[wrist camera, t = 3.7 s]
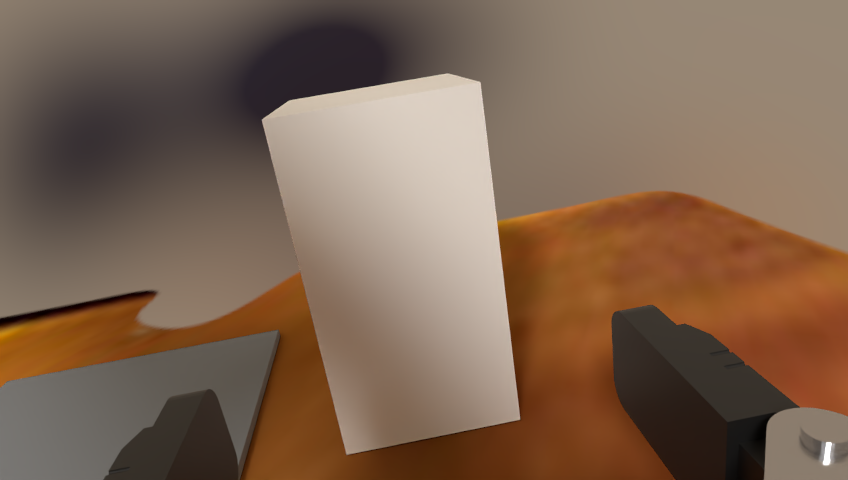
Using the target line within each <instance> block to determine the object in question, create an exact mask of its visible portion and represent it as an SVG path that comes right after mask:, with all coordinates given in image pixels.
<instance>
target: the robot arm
mask: <svg viewBox="0 0 848 480" xmlns="http://www.w3.org/2000/svg"><path fill="white" fill-rule="evenodd" d="M612 343H613V365H614V381H615V387H616V391H617V394H618V397H619V399H620V402H621V404H622V406H623V408H624V409H625V411H626V412H627V413H628V415H629V416H630V418H631V419H632V420H633V422H634V423H635V424H636V426H637V427H638V429H639V430H640V431H641V433H642V434H643V435H644V437H645V438H646V440H647V441H648V442H649V444H650V445H651V446H652V448H653V449H654V451H655V452H656V453H657V455H658V456H659V457H660V459H661V460H662V462H663V463H664V464H665V466H666V467H667V468H668V470H669V471H670V473H671V474H672V475H673V477H674V478H675V479H676V480H848V417H847V416H845V415H842V414H839V413H835V412H832V411H828V410H823V409H816V408H800V407H799V406H797V405H796V404H795V403H794V402H793V401H791V400H790V399H789V398H788V397H786V396H785V395H784V394H783V393H782V392H780V391H779V390H778V389H777V388H775V387H774V386H773V385H772V384H771V383H769V382H768V381H767V380H766V379H764V378H763V377H762V376H761V375H760V374H758V373H757V372H756V371H755V370H753V369H752V368H751V367H750V366H749V365H746V366H745V364H744V361H742V360H741V359H740V358H739V357H738V356H736V355H735V354H734V353H733V352H732V353H730V352H729V349H728V348H727V347H725V346H724V345H723V344H722V343H720V342H719V341H718V340H717V339H716V338H714V337H713V336H712V335H711V334H708V333H706V332H704V331H701V330H699V329H696V328H694V327H692V326H689V325H687V324H681V325H676V324H675V323H674V322H673V321H671V320H670V319H669V318H668V317H667V316H666V315H665V314H664V313H662V312H661V311H660V310H659V309H658V308H657V307H655V306H653V305H647V306H642V307H637V308H632V309H627V310H622V311H616V312H614V314H613V316H612ZM103 480H238V460H237V455H236V451H235V448H234V445H233V442H232V439H231V436H230V433H229V430H228V427H227V424H226V421H225V418H224V415H223V412H222V409H221V406H220V403H219V400H218V398H217V396H216V394H215V392H214V391H213V390H211V389H207V390H202V391H196V392H191V393H186V394H181V395H176V396H171V397H170V398H169V399H168V400H167V401H166V403H165V405H164V407H163V409H162V410H161V412H160V414H159V416H158V418H157V419H156V421H155V423H154V425H153V426H152V427H147V428H144V429H142V430H141V431H140V432H139V433H138V434H137V435H136V436H135V437H134V438H133V439H132V440H131V441H130V442H129V443H128V444H126V445H125V446H124V447H123V448H122V449H121V451H120V453H119V454H118V456H117V458H116V459H115V461H114V463H113V464H112V466H111V468H110V469H109V475H106V476H105V478H104V479H103Z"/></svg>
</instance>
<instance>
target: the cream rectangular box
mask: <svg viewBox="0 0 848 480" xmlns="http://www.w3.org/2000/svg"><path fill="white" fill-rule="evenodd" d="M262 122H263V126H264V130H265V134H266V138H267V142H268V146H269V150H270V154H271V158H272V162H273V166H274V170H275V174H276V178H277V182H278V185H279V190H280V194H281V197H282V201H283V205H284V209H285V213H286V217H287V221H288V225H289V229H290V233H291V237H292V241H293V245H294V249H295V252H296V257H297V261H298V265H299V269H300V273H301V277H302V281H303V284H304V288H305V292H306V296H307V300H308V304H309V308H310V312H311V316H312V320H313V324H314V328H315V332H316V336H317V340H318V344H319V348H320V352H321V356H322V360H323V364H324V368H325V372H326V375H327V379H328V383H329V387H330V391H331V395H332V399H333V403H334V407H335V411H336V415H337V419H338V423H339V427H340V431H341V435H342V439H343V443H344V447H345V451H346V455H349V454H354V453H359V452H363V451H368V450H373V449H378V448H383V447H388V446H393V445H398V444H403V443H408V442H413V441H418V440H423V439H428V438H432V437H437V436H442V435H447V434H452V433H457V432H462V431H467V430H472V429H477V428H482V427H487V426H492V425H497V424H501V423H506V422H511V421H516V420H520V413H519V404H518V396H517V387H516V379H515V370H514V362H513V353H512V345H511V337H510V328H509V320H508V311H507V303H506V294H505V286H504V277H503V269H502V260H501V252H500V244H499V235H498V227H497V218H496V210H495V201H494V193H493V185H492V176H491V168H490V159H489V151H488V144H487V143H488V142H487V134H486V125H485V118H484V108H483V100H482V92H481V83H480V82H478V81H474V80H471V79H467V78H463V77H459V76H456V75H451V74H442V75H437V76H431V77H425V78H419V79H413V80H407V81H402V82H396V83H390V84H384V85H378V86H372V87H366V88H360V89H354V90H348V91H343V92H337V93H331V94H325V95H319V96H313V97H307V98H302V99H296V100H290V101H288V102H286V103H285V104H284V105H282V106H281V107H279V108H278V109H276V110H275V111H274V112H272V113H271V114H269V115H268V116H266V117H265V118H264V119H263V120H262Z"/></svg>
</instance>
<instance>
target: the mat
mask: <svg viewBox="0 0 848 480" xmlns="http://www.w3.org/2000/svg"><path fill="white" fill-rule="evenodd" d="M279 339H280V333H279V330H275V331H269V332H264V333H259V334H254V335H248V336H243V337H238V338H233V339H228V340H222V341H217V342H212V343H207V344H201V345H196V346H191V347H186V348H180V349H175V350H170V351H165V352H159V353H154V354H149V355H144V356H138V357H133V358H128V359H123V360H117V361H112V362H107V363H102V364H96V365H91V366H86V367H81V368H75V369H70V370H65V371H60V372H54V373H49V374H44V375H39V376H33V377H28V378H23V379H18V380H12V381H7V382H6V383H5V384H4V385H3V386H2V387H1V388H0V480H103V479H104V478H105V476H106V475H109V469H110V468H111V466H112V464H113V463H114V461H115V459H116V458H117V456H118V454H119V453H120V451H121V449H122V448H123V447H124V446H125V445H126V444H128V443H129V442H130V441H131V440H132V439H133V438H134V437H135V436H136V435H137V434H138V433H139V432H140V431H141V430H142V429H144V428H147V427H152V426H153V425H154V423H155V421H156V419H157V418H158V416H159V414H160V412H161V410H162V409H163V407H164V405H165V403H166V401H167V400H168V399H169V398H170V397H171V396H176V395H181V394H186V393H191V392H196V391H202V390H207V389H211V390H213V391H214V392H215V394H216V396H217V398H218V400H219V403H220V406H221V409H222V412H223V415H224V418H225V421H226V424H227V427H228V430H229V433H230V436H231V439H232V442H233V445H234V448H235V451H236V455H237V460H238V480H240V477H241V474H242V470H243V467H244V463H245V459H246V456H247V452H248V449H249V445H250V442H251V438H252V435H253V431H254V428H255V424H256V421H257V417H258V414H259V410H260V406H261V403H262V399H263V396H264V392H265V389H266V385H267V382H268V378H269V375H270V371H271V368H272V364H273V361H274V357H275V353H276V350H277V346H278V343H279Z"/></svg>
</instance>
